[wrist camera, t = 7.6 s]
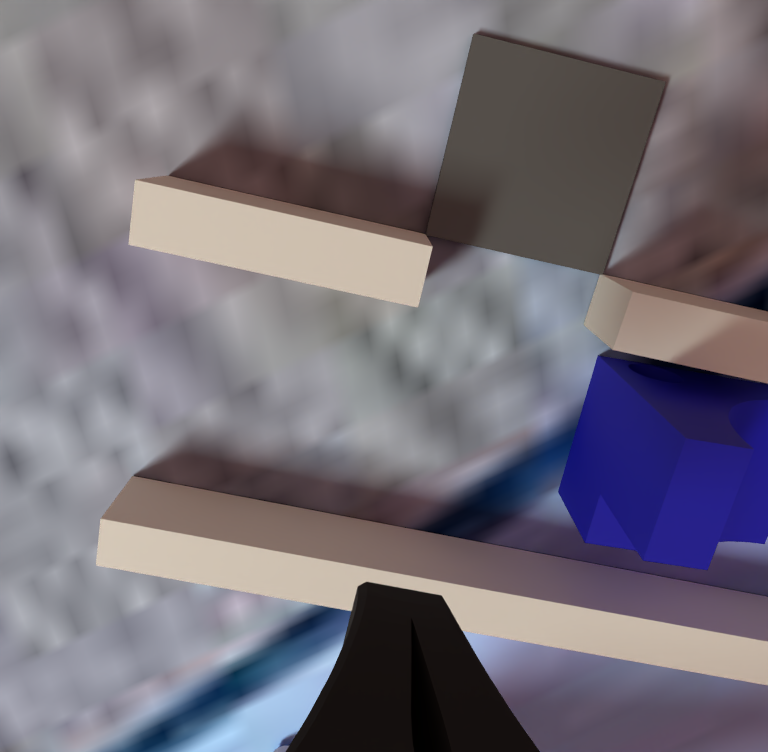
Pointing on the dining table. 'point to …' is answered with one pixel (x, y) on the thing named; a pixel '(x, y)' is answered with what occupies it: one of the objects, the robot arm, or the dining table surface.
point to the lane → (413, 547)
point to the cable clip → (669, 462)
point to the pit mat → (541, 154)
